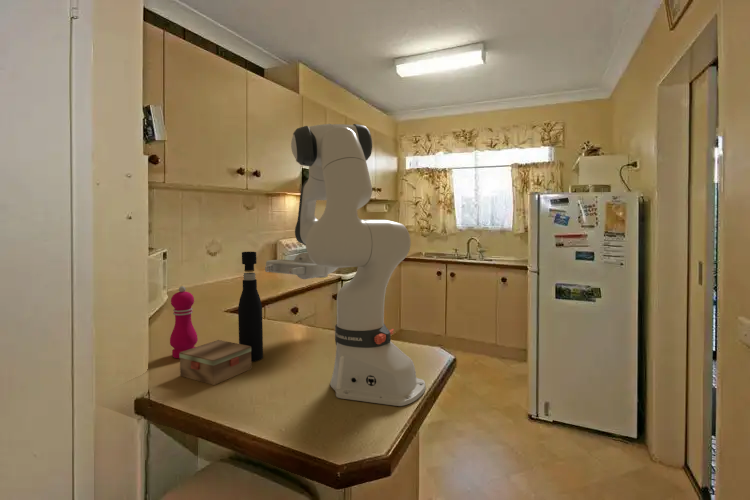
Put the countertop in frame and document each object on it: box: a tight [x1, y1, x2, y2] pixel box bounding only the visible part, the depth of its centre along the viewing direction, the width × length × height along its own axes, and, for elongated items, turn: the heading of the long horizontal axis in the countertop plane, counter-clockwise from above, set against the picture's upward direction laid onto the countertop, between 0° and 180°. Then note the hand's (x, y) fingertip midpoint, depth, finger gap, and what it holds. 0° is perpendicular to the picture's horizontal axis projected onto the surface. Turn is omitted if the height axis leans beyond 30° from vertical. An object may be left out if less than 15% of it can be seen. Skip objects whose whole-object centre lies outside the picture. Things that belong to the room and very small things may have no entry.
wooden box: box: [178, 339, 252, 386], centre depth 104 cm, size 13×13×6 cm
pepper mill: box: [169, 285, 198, 360], centre depth 117 cm, size 7×7×20 cm
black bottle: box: [237, 251, 264, 363], centre depth 114 cm, size 6×6×30 cm
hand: (278, 270), depth 124 cm, fingers open, 8 cm apart
